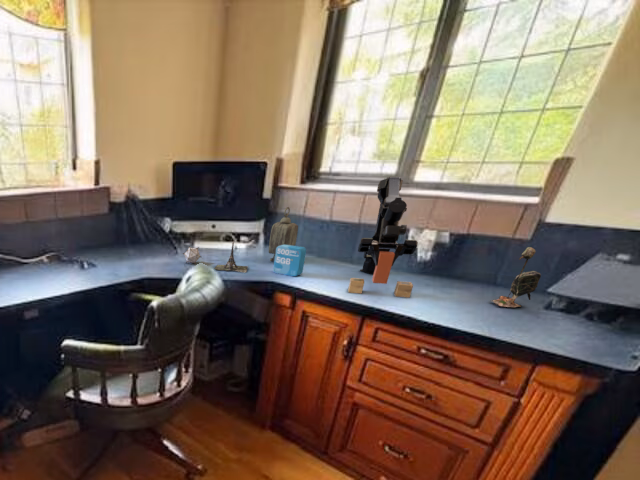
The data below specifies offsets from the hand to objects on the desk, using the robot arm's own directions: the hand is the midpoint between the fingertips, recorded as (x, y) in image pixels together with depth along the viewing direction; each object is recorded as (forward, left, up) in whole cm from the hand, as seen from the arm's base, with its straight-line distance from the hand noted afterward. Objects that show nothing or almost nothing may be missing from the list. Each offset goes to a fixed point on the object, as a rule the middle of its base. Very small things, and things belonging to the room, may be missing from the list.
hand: (384, 265), depth 158 cm
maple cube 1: (+8, -3, -10) cm, 13 cm away
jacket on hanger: (+4, -59, -10) cm, 60 cm away
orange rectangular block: (-1, -1, -7) cm, 7 cm away
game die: (+48, -69, -10) cm, 85 cm away
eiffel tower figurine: (+35, -52, -10) cm, 64 cm away
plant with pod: (-30, +28, -10) cm, 42 cm away
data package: (+16, -35, -10) cm, 40 cm away
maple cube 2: (-5, +7, -10) cm, 13 cm away
